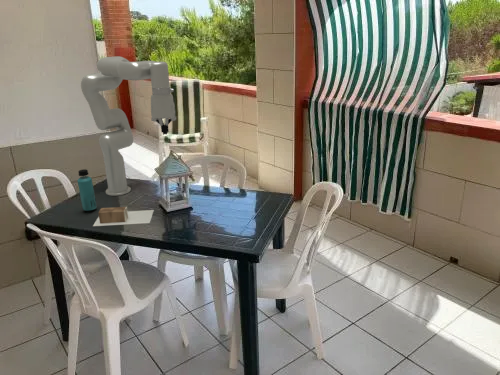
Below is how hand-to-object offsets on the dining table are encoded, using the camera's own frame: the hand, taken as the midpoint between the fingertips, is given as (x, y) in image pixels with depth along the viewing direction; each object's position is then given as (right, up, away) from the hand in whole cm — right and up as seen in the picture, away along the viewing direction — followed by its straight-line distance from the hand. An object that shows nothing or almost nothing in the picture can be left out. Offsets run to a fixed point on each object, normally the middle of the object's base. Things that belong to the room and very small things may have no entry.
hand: (165, 133), depth 180 cm
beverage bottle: (-37, -35, +9) cm, 52 cm away
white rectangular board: (-18, -38, 0) cm, 42 cm away
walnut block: (-17, -36, -2) cm, 39 cm away
